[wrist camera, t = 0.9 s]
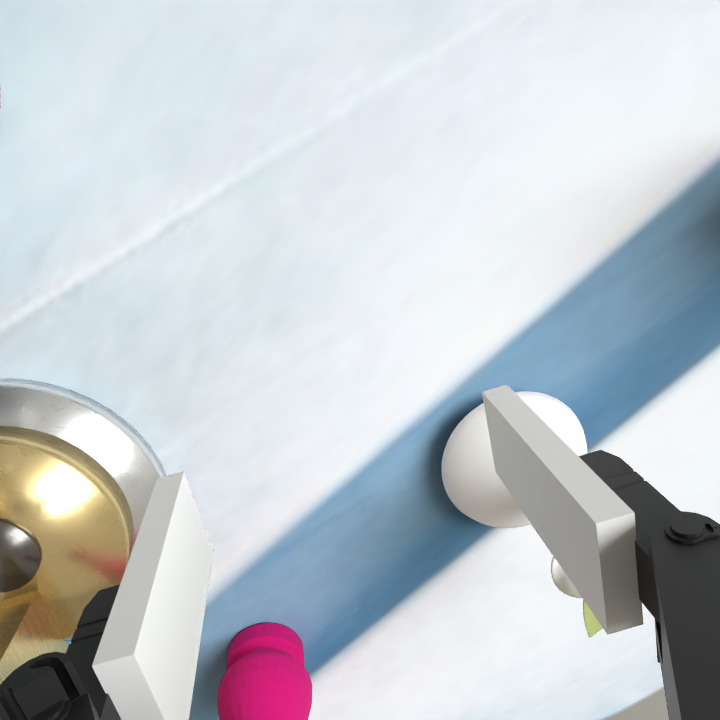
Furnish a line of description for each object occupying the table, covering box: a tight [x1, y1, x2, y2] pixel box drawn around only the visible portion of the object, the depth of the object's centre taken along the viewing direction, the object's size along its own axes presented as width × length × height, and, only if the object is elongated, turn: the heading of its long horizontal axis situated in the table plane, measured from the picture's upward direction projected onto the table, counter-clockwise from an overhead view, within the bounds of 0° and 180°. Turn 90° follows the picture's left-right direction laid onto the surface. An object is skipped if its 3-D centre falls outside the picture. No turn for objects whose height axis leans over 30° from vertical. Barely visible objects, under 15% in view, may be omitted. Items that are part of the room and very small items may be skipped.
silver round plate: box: [0, 379, 166, 641], centre depth 43 cm, size 21×21×2 cm
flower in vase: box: [441, 391, 603, 637], centre depth 36 cm, size 13×11×25 cm
